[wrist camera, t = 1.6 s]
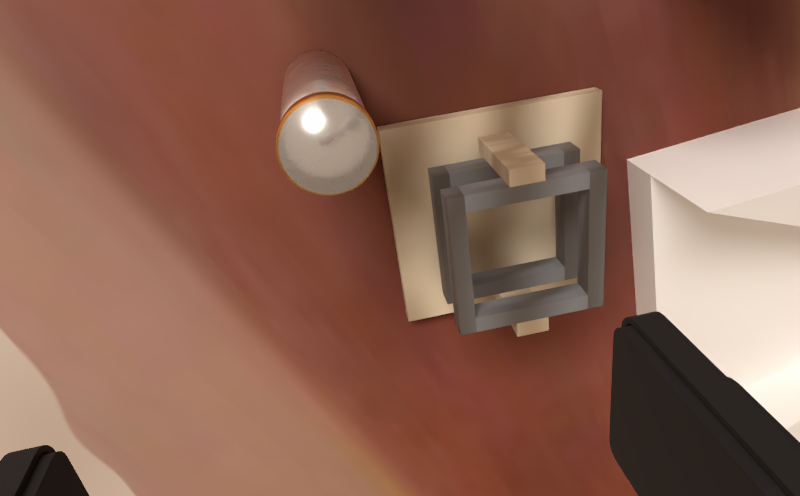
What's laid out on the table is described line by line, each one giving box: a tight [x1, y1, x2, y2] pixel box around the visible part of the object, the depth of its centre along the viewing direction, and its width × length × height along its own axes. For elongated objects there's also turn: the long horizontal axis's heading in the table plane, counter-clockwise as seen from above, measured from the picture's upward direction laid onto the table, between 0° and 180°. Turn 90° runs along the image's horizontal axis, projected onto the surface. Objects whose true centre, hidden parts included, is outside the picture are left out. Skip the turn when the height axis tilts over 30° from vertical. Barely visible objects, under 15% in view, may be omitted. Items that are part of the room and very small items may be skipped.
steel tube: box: [276, 50, 380, 196], centre depth 29 cm, size 4×4×12 cm
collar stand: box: [377, 87, 607, 337], centre depth 37 cm, size 14×14×7 cm
